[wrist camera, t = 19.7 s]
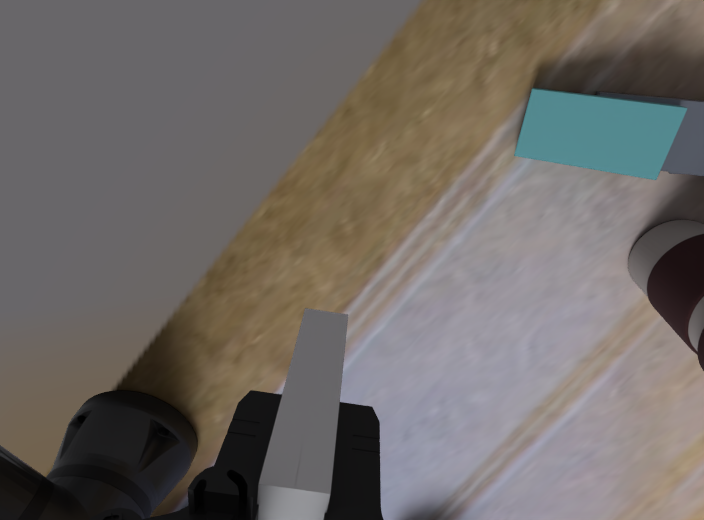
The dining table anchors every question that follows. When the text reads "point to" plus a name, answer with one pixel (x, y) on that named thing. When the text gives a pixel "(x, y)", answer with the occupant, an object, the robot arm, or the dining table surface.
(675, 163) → the domino
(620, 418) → the dining table surface
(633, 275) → the coffee cup
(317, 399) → the robot arm
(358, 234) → the dining table surface
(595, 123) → the domino
